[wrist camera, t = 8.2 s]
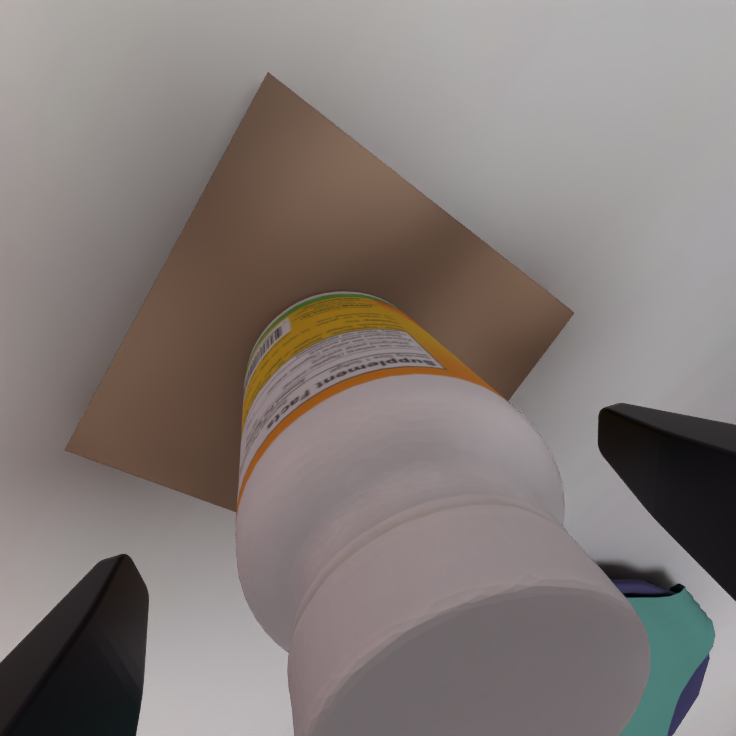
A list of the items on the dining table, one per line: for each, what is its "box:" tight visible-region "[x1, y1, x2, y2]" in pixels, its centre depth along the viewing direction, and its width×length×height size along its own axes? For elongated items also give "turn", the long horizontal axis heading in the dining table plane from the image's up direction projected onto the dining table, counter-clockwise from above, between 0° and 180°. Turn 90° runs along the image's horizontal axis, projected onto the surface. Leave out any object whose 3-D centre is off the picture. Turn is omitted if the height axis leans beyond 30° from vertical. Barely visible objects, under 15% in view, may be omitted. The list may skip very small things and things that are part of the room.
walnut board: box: [65, 73, 574, 512], centre depth 14 cm, size 11×11×2 cm
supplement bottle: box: [236, 291, 650, 736], centre depth 9 cm, size 5×5×10 cm
